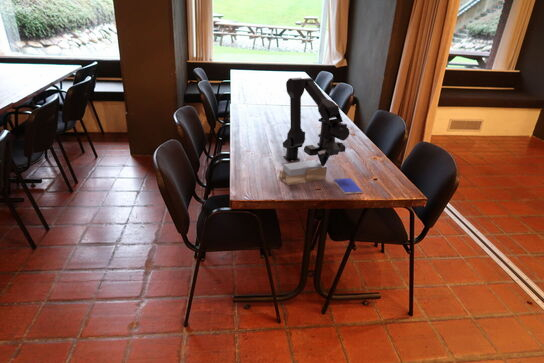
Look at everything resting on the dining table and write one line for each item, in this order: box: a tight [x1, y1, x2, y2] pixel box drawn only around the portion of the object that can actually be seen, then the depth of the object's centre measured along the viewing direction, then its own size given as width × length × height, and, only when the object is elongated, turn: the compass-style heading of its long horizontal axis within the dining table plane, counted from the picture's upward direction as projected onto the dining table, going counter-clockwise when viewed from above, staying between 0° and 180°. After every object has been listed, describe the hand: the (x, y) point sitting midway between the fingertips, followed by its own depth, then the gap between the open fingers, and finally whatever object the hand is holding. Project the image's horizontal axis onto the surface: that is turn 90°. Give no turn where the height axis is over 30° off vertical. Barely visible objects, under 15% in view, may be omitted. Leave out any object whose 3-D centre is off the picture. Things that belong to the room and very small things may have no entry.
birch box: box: [278, 159, 328, 186], centre depth 163 cm, size 9×19×6 cm, turn 115°
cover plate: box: [282, 159, 322, 176], centre depth 162 cm, size 6×16×3 cm, turn 115°
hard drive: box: [333, 177, 364, 195], centre depth 159 cm, size 2×8×12 cm
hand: (322, 166), depth 166 cm, fingers closed
